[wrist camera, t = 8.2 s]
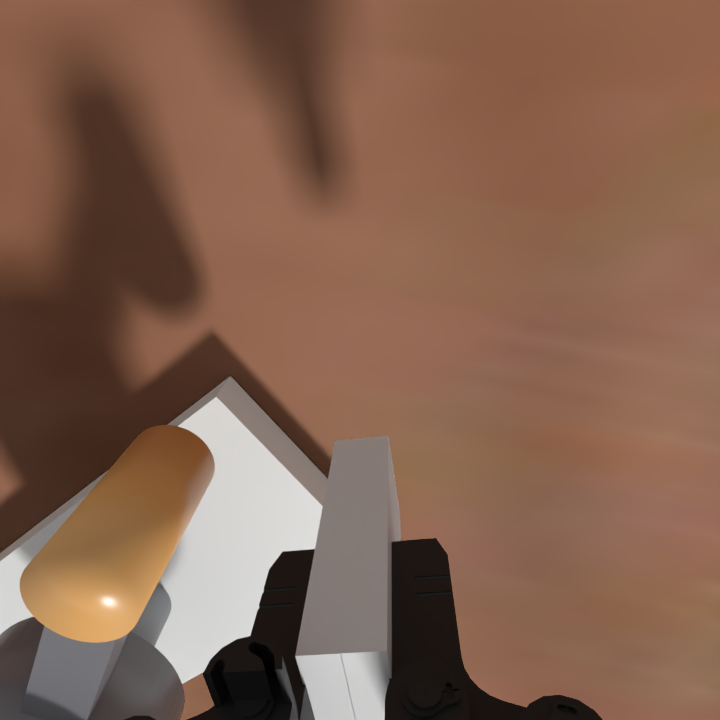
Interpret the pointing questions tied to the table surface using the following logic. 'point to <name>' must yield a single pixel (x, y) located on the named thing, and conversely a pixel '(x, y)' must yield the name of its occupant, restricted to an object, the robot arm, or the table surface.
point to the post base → (210, 533)
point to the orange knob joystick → (106, 591)
